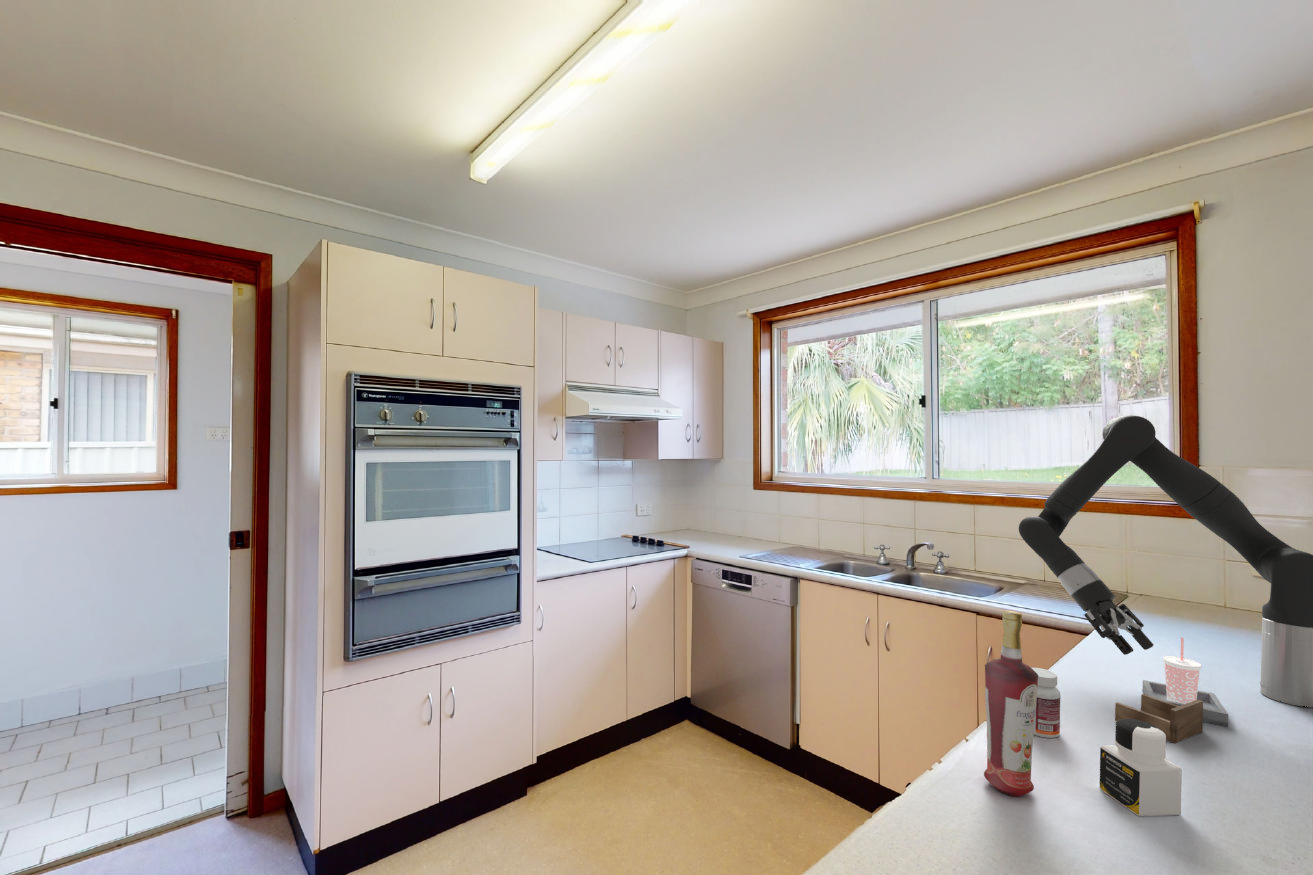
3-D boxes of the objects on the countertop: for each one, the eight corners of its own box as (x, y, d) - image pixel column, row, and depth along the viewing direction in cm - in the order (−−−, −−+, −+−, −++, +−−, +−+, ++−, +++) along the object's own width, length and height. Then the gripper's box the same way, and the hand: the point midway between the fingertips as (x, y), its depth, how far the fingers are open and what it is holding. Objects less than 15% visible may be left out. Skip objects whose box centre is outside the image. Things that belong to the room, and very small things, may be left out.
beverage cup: (1170, 706, 124) (1171, 639, 124) (1157, 695, 130) (1158, 631, 130) (1206, 712, 122) (1207, 644, 122) (1192, 700, 128) (1193, 635, 128)
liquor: (1014, 806, 90) (1018, 621, 90) (971, 780, 96) (975, 608, 96) (1046, 796, 92) (1050, 617, 93) (1002, 771, 99) (1006, 604, 99)
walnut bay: (1202, 731, 115) (1203, 701, 115) (1174, 743, 110) (1175, 710, 110) (1142, 710, 124) (1143, 681, 124) (1115, 720, 119) (1115, 690, 119)
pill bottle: (1065, 733, 113) (1067, 674, 113) (1050, 742, 109) (1051, 681, 110) (1030, 720, 118) (1032, 663, 118) (1015, 728, 115) (1016, 669, 115)
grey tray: (1214, 705, 127) (1214, 693, 127) (1228, 726, 117) (1228, 714, 117) (1142, 690, 134) (1142, 679, 134) (1149, 710, 124) (1150, 698, 124)
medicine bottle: (1098, 788, 95) (1099, 714, 95) (1139, 787, 95) (1141, 713, 95) (1138, 817, 88) (1139, 736, 88) (1182, 815, 88) (1184, 735, 88)
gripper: (1080, 581, 137) (1137, 646, 127) (1114, 576, 144) (1170, 638, 133) (1056, 598, 142) (1108, 662, 132) (1089, 592, 148) (1142, 653, 138)
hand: (1139, 650), depth 133 cm, fingers open, 8 cm apart
